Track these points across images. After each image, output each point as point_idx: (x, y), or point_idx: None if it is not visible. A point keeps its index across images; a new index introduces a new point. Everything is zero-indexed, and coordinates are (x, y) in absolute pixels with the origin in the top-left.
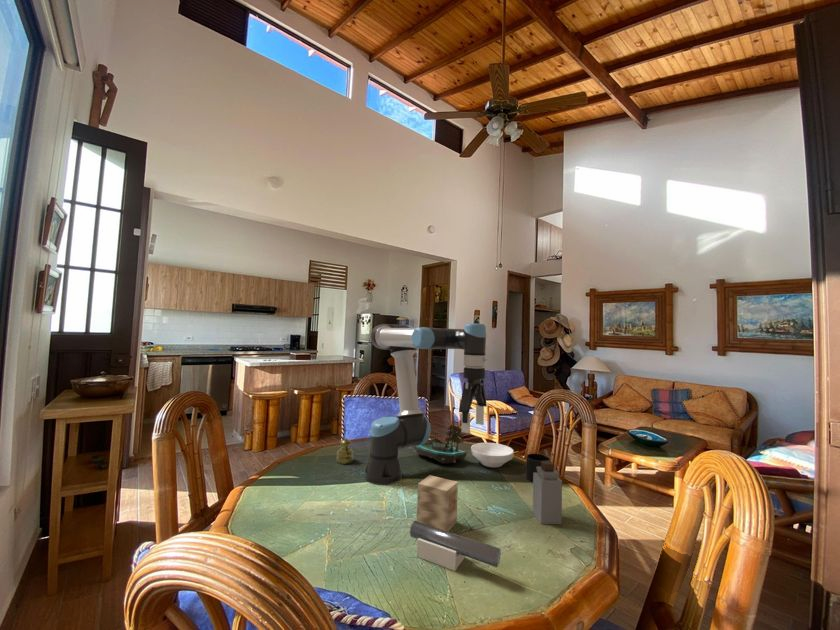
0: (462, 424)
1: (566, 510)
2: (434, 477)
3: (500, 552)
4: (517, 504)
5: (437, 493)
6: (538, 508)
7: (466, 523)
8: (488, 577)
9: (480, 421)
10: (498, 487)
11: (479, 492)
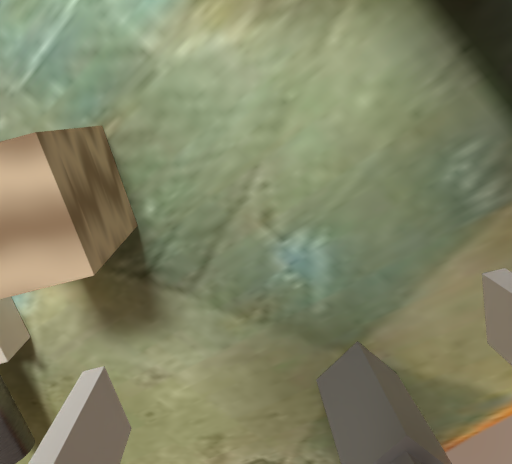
0: (51, 439)
1: (441, 390)
2: (36, 169)
3: (30, 449)
4: (382, 286)
5: None
6: (337, 389)
7: (158, 247)
8: (23, 403)
9: (508, 337)
10: (467, 173)
11: (378, 148)
